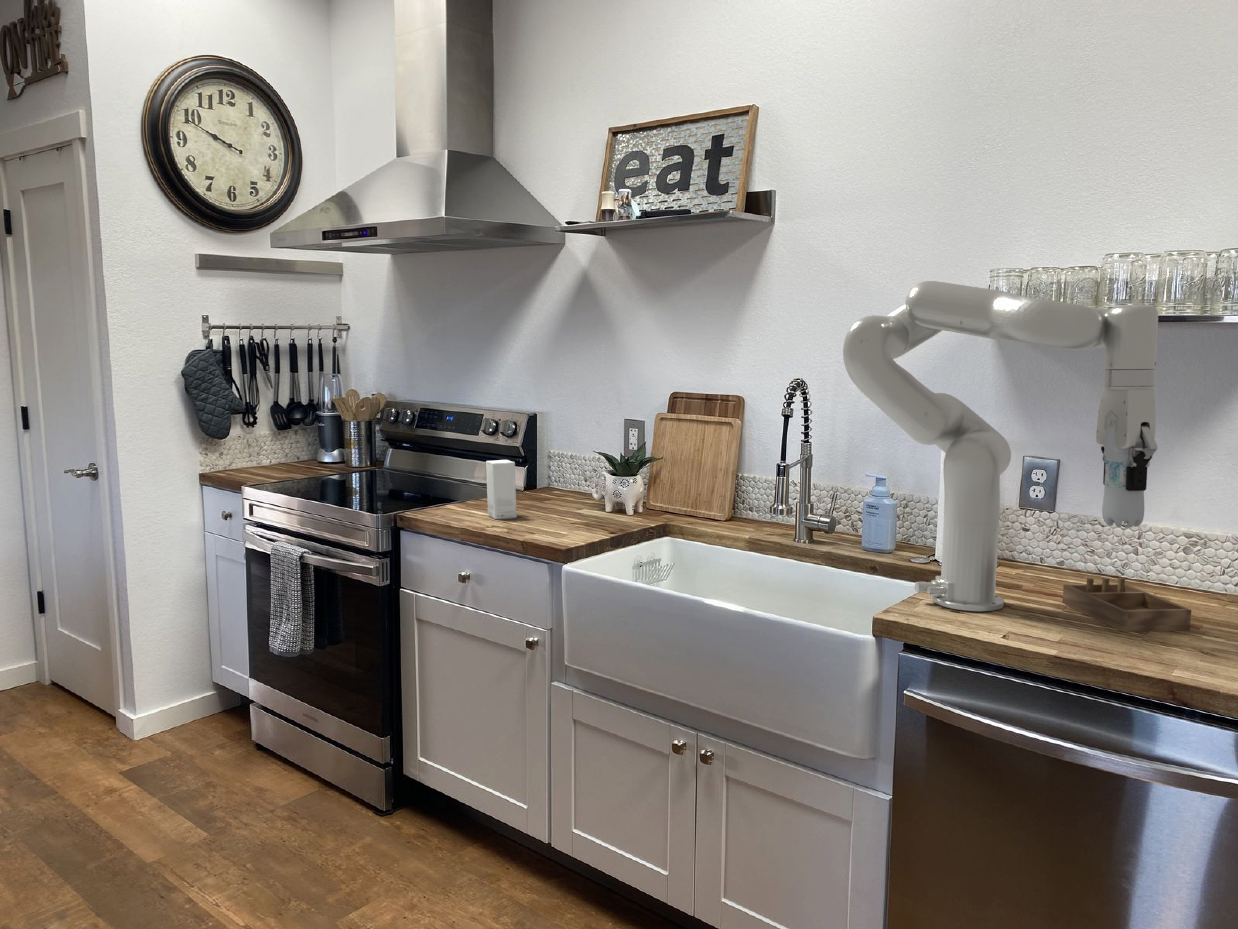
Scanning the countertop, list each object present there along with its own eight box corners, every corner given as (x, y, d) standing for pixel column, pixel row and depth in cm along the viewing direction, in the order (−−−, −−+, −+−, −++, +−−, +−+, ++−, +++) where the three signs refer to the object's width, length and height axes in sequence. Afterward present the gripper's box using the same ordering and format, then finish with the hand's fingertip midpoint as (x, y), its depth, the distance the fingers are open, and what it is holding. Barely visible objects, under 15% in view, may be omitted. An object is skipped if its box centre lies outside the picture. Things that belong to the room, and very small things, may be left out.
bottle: (1106, 520, 164) (1111, 405, 162) (1149, 524, 159) (1155, 406, 157) (1094, 525, 159) (1100, 407, 157) (1139, 530, 154) (1145, 408, 152)
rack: (1122, 631, 157) (1124, 600, 156) (1062, 602, 175) (1064, 574, 174) (1189, 630, 158) (1192, 599, 157) (1123, 601, 176) (1125, 573, 175)
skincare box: (516, 518, 257) (516, 462, 256) (493, 520, 255) (492, 463, 253) (508, 513, 265) (508, 458, 263) (485, 515, 263) (485, 459, 261)
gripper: (1079, 379, 165) (1075, 481, 167) (1137, 382, 148) (1132, 495, 150) (1121, 379, 165) (1117, 480, 167) (1184, 381, 148) (1178, 494, 150)
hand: (1124, 486), depth 158 cm, fingers closed on bottle, 5 cm apart
